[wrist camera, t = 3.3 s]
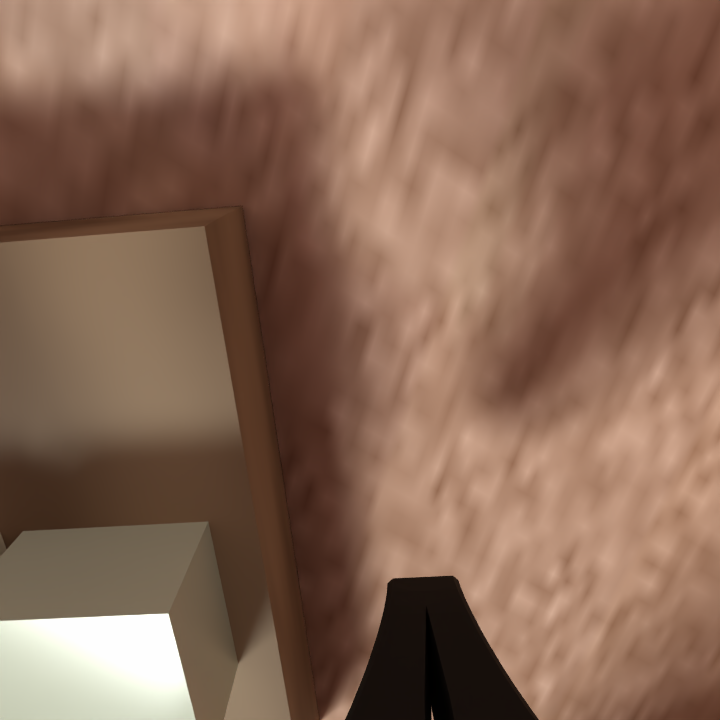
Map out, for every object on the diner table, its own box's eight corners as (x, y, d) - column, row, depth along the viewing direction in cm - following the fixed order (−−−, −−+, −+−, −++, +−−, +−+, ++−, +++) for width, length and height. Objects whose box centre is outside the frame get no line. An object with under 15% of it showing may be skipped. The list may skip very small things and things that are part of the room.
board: (15, 732, 19) (-47, 836, 16) (-191, 241, 13) (-343, 270, 10) (319, 722, 18) (309, 828, 16) (242, 205, 13) (203, 226, 10)
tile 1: (71, 670, 14) (9, 779, 11) (22, 531, 12) (-59, 623, 10) (238, 663, 14) (209, 774, 11) (207, 521, 12) (168, 613, 10)
